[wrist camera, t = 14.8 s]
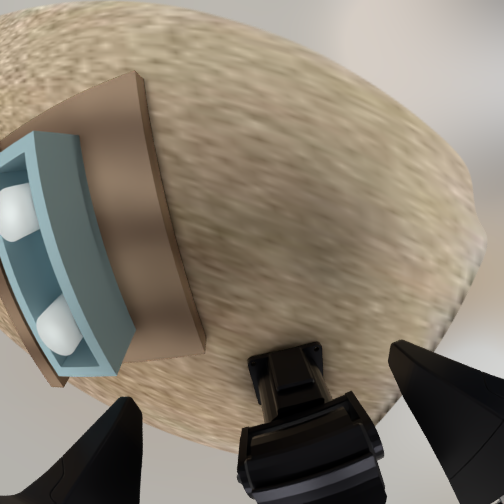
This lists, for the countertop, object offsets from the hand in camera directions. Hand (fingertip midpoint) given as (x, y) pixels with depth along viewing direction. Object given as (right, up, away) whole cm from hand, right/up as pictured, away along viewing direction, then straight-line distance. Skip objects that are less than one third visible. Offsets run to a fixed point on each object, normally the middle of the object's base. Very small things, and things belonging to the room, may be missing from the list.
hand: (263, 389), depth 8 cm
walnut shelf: (-13, +5, +10) cm, 17 cm away
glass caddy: (-12, +5, +8) cm, 15 cm away
